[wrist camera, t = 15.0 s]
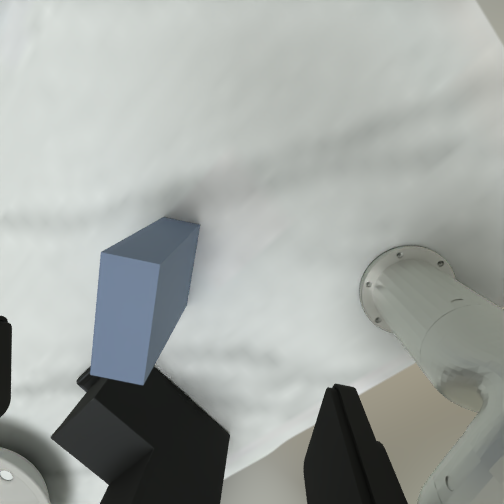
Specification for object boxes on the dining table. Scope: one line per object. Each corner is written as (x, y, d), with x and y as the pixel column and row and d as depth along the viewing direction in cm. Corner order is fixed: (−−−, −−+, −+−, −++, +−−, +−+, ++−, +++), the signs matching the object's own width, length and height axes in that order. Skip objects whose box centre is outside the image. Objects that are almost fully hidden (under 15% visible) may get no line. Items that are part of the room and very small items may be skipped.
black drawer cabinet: (77, 377, 53) (-64, 541, 30) (122, 335, 51) (6, 478, 28) (185, 468, 57) (132, 673, 34) (231, 432, 54) (207, 627, 32)
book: (163, 217, 46) (100, 252, 28) (200, 224, 46) (160, 264, 28) (152, 298, 49) (90, 374, 31) (186, 305, 49) (143, 385, 31)
